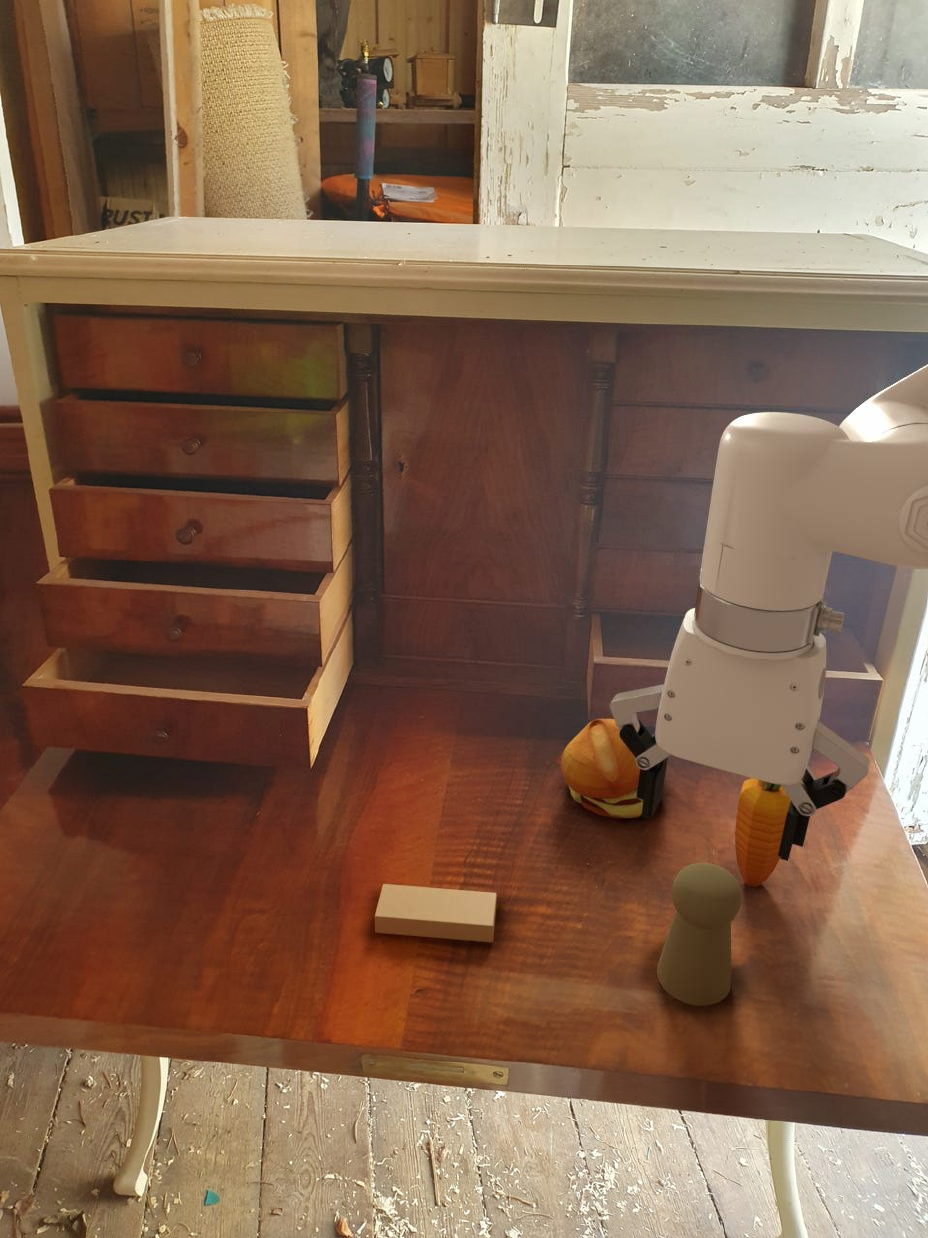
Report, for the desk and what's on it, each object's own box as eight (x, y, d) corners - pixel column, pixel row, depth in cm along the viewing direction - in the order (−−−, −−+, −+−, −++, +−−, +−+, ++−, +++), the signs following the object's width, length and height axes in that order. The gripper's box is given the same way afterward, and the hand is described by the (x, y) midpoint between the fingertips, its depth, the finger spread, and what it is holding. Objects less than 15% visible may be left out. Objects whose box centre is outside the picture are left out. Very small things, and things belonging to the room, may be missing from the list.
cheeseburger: (689, 799, 99) (685, 728, 94) (617, 860, 95) (609, 790, 89) (617, 754, 106) (609, 685, 101) (547, 809, 102) (535, 740, 96)
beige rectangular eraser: (496, 914, 85) (496, 892, 83) (492, 948, 81) (493, 926, 80) (383, 905, 85) (383, 883, 84) (375, 938, 82) (374, 916, 81)
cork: (656, 1008, 76) (670, 900, 71) (653, 951, 81) (666, 847, 76) (735, 1017, 75) (755, 909, 70) (726, 958, 80) (745, 854, 75)
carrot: (786, 907, 86) (815, 767, 79) (731, 906, 86) (755, 767, 79) (770, 869, 90) (796, 734, 84) (717, 869, 90) (739, 734, 84)
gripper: (905, 618, 61) (850, 834, 69) (640, 565, 68) (617, 767, 75) (896, 670, 55) (837, 900, 62) (606, 606, 61) (584, 821, 69)
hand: (717, 827), depth 69 cm, fingers open, 9 cm apart
